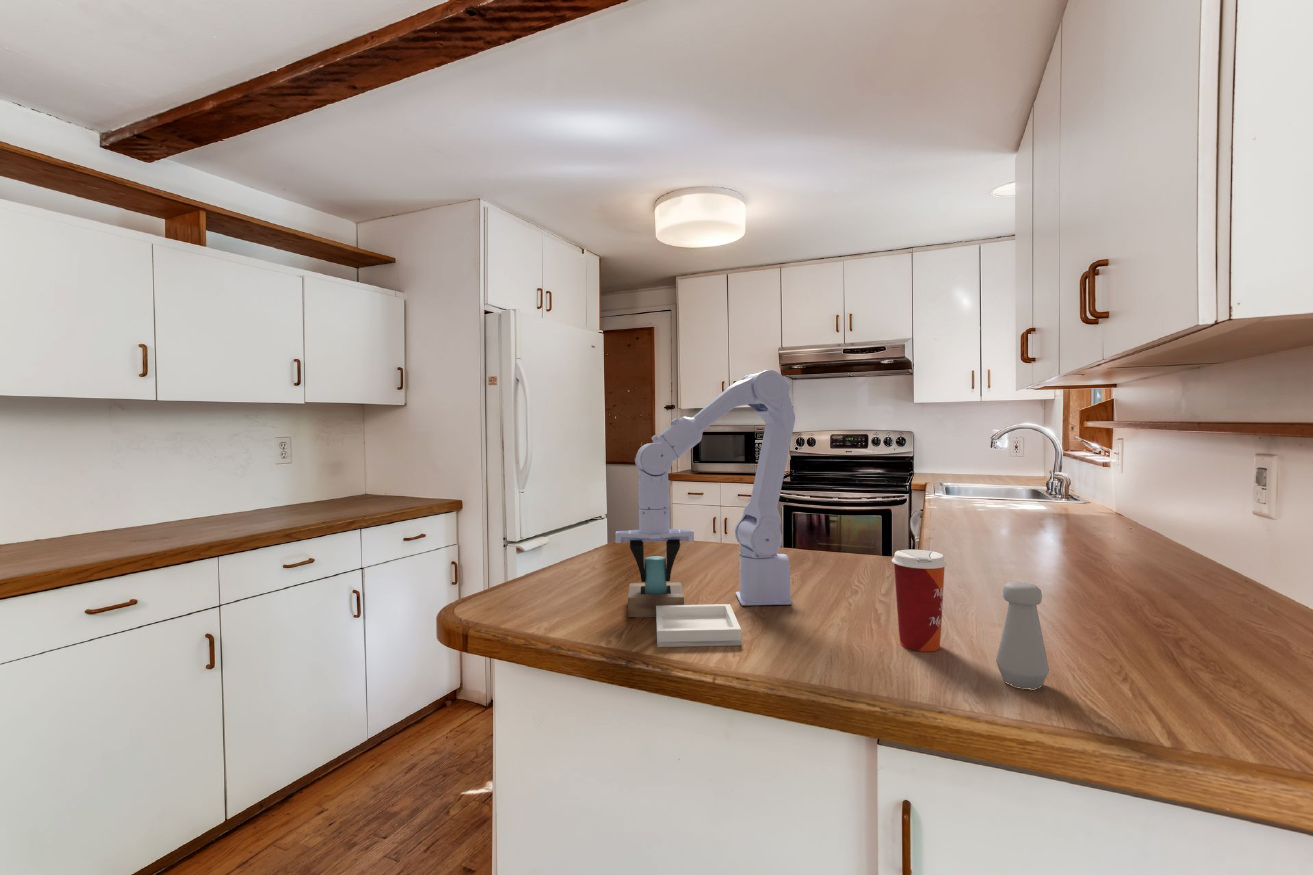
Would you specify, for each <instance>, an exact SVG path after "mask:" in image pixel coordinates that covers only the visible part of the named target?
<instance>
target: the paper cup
mask: <svg viewBox="0 0 1313 875" xmlns="http://www.w3.org/2000/svg"><path fill="white" fill-rule="evenodd" d="M891 562H892V564H893V566H894V568H893V569H894V580H895V596H896V597H895V598H896V609H897V624H898V636H899V638H898V639H899V643H900V646H902V648H905V647H906V648H905V649H907V650H910V649H911V651H914V650H915V651H914V652H920V653H925V652H926V653H932V652H937V651H938V649H940V647H941V636H942V619H943V607H944V606H943V602H944V586H945V584H944V583H945V568H946V567H947V566H948V564H947V562H946V561H945V558H944V555H943V553H939V552H938V551H937V552H936V551H933V550H926V549H925V550H924V549H902V550H896V551H895V552H894V555H893V558H892V559H891ZM936 650H937V651H936Z"/></svg>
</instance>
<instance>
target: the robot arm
mask: <svg viewBox="0 0 1313 875" xmlns="http://www.w3.org/2000/svg"><path fill="white" fill-rule="evenodd" d="M790 388H791V385H790V384H789V383H788V381H787V380H786V379H785V378H784V377H783V375H782V374H781V373H780V372H778V371H776V370H773V369H767V370H763V371H761V372H757V373H750V374H747V375H745V376H743V377H742V379H741V380H738V381H736V382H735V381H734V383H732V384H731V385H730V386H728V387H727V388H726V389H724V390H723V391H722V392H720V393H719V395H717V396H716V397H715V398H714V399H712V400H711V401H710V402H709V403H708V404H706V405H705V406H704V407H703V408H702V409H700V410H699V411H698V412H697V413H696V414H695V415H693V416H692V417H689V416H681V417H680V418H678V417H675V418H674V419H672V420H670V423H671V425H670V426H669V427H668V428H665V430H663V431H662V432H661V433H659V435H657V434H655V435H653V436H651V440H652V442H651V443H646V444H643V445H642V446H640V448H639V449H638V451H637V453H636V455H635V458H634V462H635V465H636V467H637V468H638V485H637V486H638V489H637V490H638V527H639V528H638V529H631V530H630V529H629V530H617V531H615V535H614V536H615V544H622V543H629V549H630V551H631V553H632V555H633V557H634V559H635V561H636V565H637V568H638V571H639V575H640V580H641V582H640V583H645V556H644V555H645V554H644V553H645V551H644V549H645V548H644V546H645V545H644V543H652V542H654V543H656V542H666V543H665V548H666V582H670V581H671V577H672V576H671V575H672V571H673V566H674V563H675V560H676V557H677V555H678V552H679V550H680V547H681V542H695V530H694V529H681V528H680V529H679V528H671V527H670V526H671V523H670V522H671V521H670V512H671V511H670V482H669V471H670V469H671V468H672V466H673V462H675V461H677V460H679V459H680V458H682V456H683V455H685V454H686V453H688V451H690V450H691V449H692V448H694V447H695V446H697V445H698V444H699V443H700V442H701V441H702V438H703V433H704V430H706V429H708V427H710V426H712V424H714V423H715V422H717V421H718V420H720V419H721V418H723V417H724V416H726V414H728V413H729V412H730V411H732V410H734V409H735V408H736V407H740V406H749V407H750V408H752V409H753V410H755V411H756V413H757V414H758V415H759V416H760V417H761V419H762V421H764V423H765V428H764V432H763V438H762V443H761V448H760V452H759V457H758V461H757V466H756V472H755V475H754V476H755V477H754V481H753V485H752V491H751V497H750V501H749V503H748V504H747V505H746V506H745V508H744V510H743V514H742V516H741V518H740V520H739V521H738V522H737V524H736V526H735V529H734V536H735V539H736V541H737V542H738V543H739V545H740V549H739V591H735V596H736V597H737V599H738V601H739V603H740V605H741V606H773V605H774V606H778V605H779V606H781V605H792V601H791V599H792V598H791V594H792V593H791V566H790V565H791V564H790V560H789V556H788V555H787V554H785V553H778V552H779V550H780V549H781V547H782V545H783V535H782V531H781V524H782V517H781V514H780V512H779V508H778V506H779V502H780V501H779V500H780V497H781V490H782V486H783V480H784V476H785V471H786V467H787V461H788V457H789V456H788V455H789V451H790V446H791V441H792V438H793V431H794V427H795V424H796V415H795V412H794V411H795V410H794V408H793V404H792V400H791V397H790Z"/></svg>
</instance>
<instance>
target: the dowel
mask: <svg viewBox="0 0 1313 875" xmlns="http://www.w3.org/2000/svg"><path fill="white" fill-rule="evenodd" d="M666 563H667V557H664V556H659V555H656V556H655V555H654V556H647V557H644V568H645V582H644V583H645V594H667V588H666V583H667V581H666Z"/></svg>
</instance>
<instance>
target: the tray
mask: <svg viewBox="0 0 1313 875" xmlns="http://www.w3.org/2000/svg"><path fill="white" fill-rule="evenodd" d="M655 618H656V621H655V622H656V644H657V645H656V647H657V648H676V647H677V648H679V647H683V648H685V647H715V646H716V647H722V646H723V647H724V646H729V647H731V646H742V628H741V626H740V624H739V622H738V619H737V617H736V615H735V612H734V610H733V607H732V606H731V604H730V603H720V604H714V603H713V604H684V605H664V606H656V617H655Z"/></svg>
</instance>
